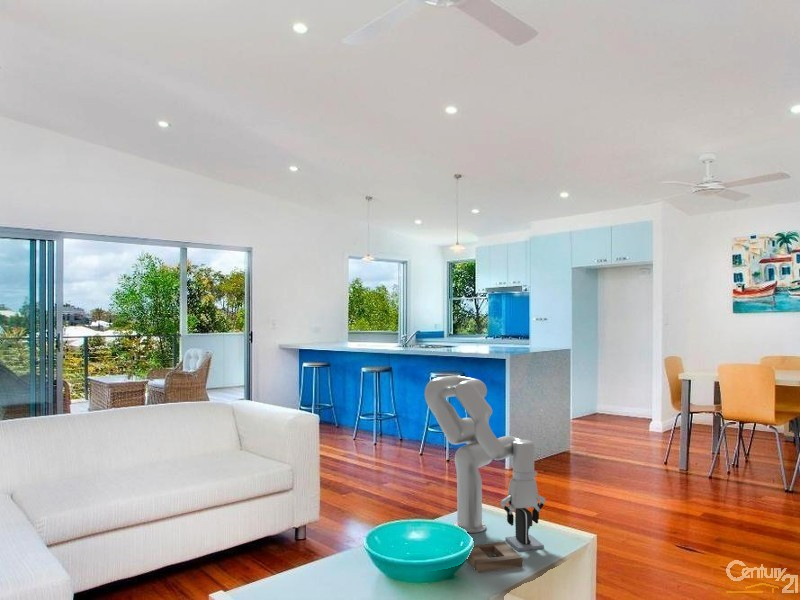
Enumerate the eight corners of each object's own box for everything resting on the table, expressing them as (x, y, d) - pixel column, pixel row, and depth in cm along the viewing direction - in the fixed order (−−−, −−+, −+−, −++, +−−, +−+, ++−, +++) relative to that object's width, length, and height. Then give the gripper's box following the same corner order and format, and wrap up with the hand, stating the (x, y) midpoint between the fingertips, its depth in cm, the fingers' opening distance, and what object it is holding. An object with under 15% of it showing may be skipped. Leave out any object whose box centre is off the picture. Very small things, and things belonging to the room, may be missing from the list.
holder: (462, 555, 194) (462, 546, 194) (504, 550, 198) (504, 541, 198) (477, 572, 181) (477, 562, 181) (522, 566, 185) (522, 557, 185)
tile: (505, 540, 207) (505, 537, 207) (530, 537, 209) (530, 534, 210) (517, 551, 197) (517, 548, 197) (543, 548, 200) (543, 545, 200)
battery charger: (534, 544, 201) (533, 511, 201) (524, 545, 200) (524, 512, 200) (524, 536, 207) (524, 505, 208) (514, 537, 206) (514, 506, 207)
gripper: (540, 470, 210) (539, 517, 210) (496, 473, 206) (496, 521, 205) (550, 476, 203) (549, 525, 202) (505, 479, 198) (505, 529, 198)
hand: (522, 523), depth 204 cm, fingers open, 9 cm apart
